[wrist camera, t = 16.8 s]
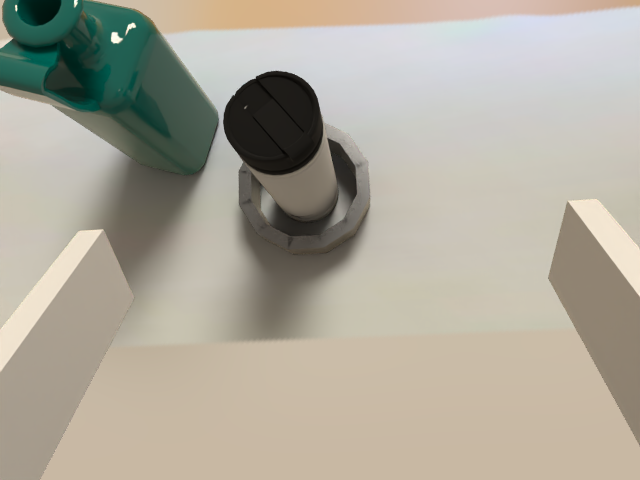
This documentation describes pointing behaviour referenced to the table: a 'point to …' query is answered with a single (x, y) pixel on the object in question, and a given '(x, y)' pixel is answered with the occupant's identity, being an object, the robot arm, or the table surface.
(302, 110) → the travel mug
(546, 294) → the table surface
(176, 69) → the green bottle
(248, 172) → the ring collar
